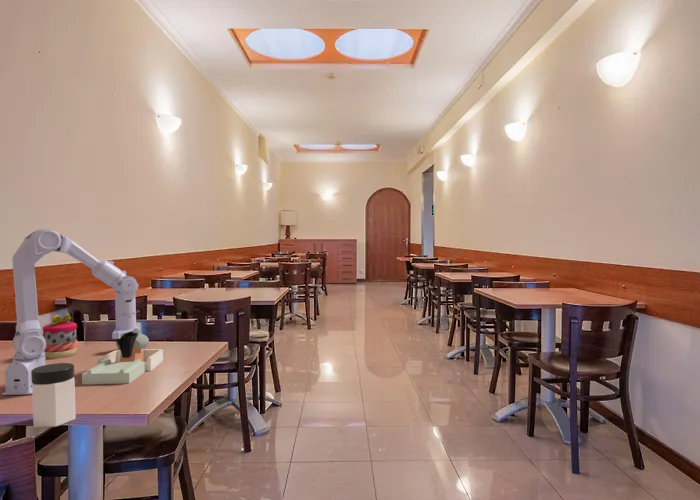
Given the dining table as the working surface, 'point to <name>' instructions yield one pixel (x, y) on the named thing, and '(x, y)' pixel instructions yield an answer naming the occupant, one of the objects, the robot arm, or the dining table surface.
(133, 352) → the tile
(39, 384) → the jar
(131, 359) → the tile
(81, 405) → the dining table surface
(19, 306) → the robot arm
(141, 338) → the air freshener
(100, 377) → the two-ridged green plate
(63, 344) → the cake
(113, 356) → the box
